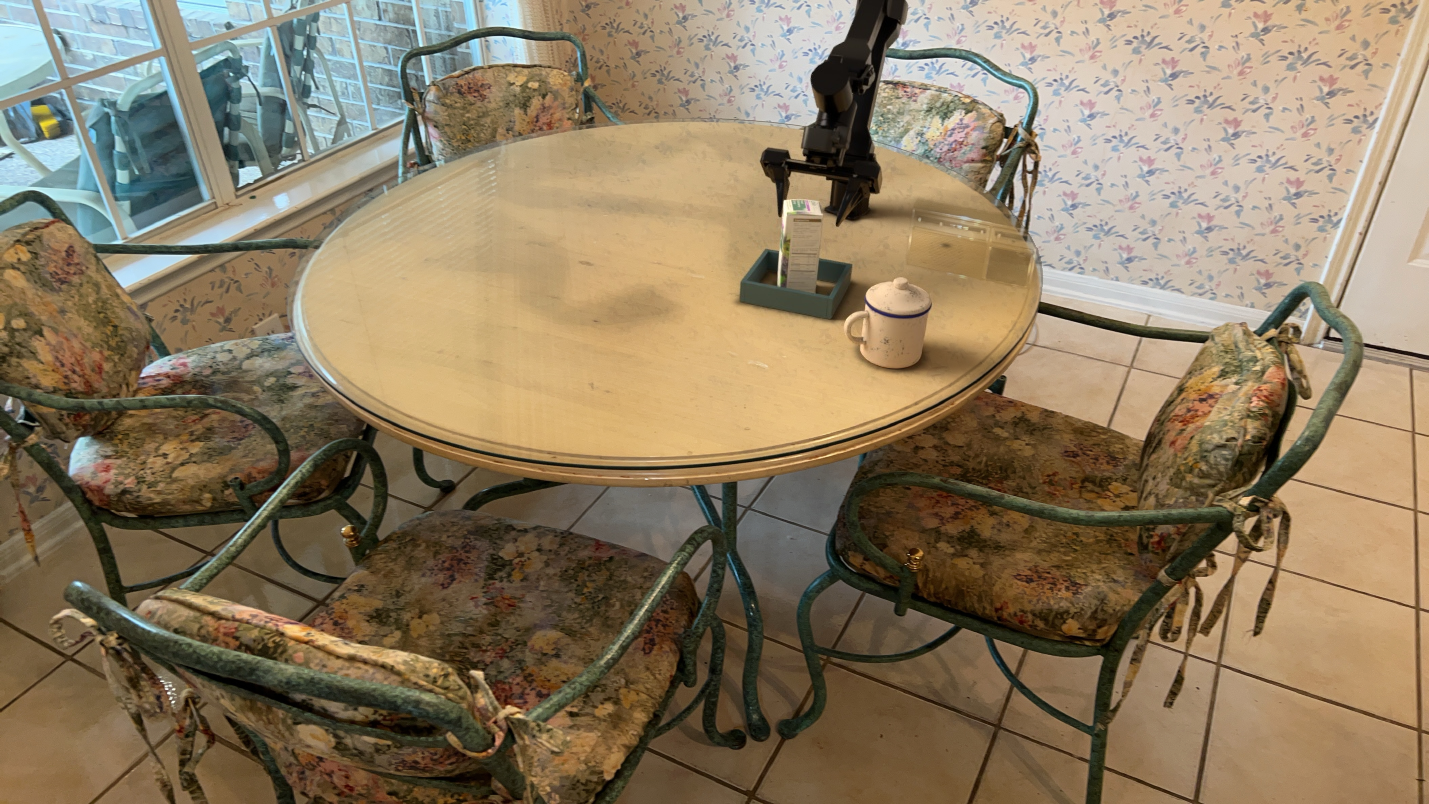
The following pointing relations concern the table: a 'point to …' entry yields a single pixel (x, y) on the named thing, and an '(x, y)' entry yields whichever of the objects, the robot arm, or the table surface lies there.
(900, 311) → the teacup with lid
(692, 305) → the table surface
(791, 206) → the syrup box
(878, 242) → the table surface
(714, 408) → the table surface
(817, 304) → the teal square frame
